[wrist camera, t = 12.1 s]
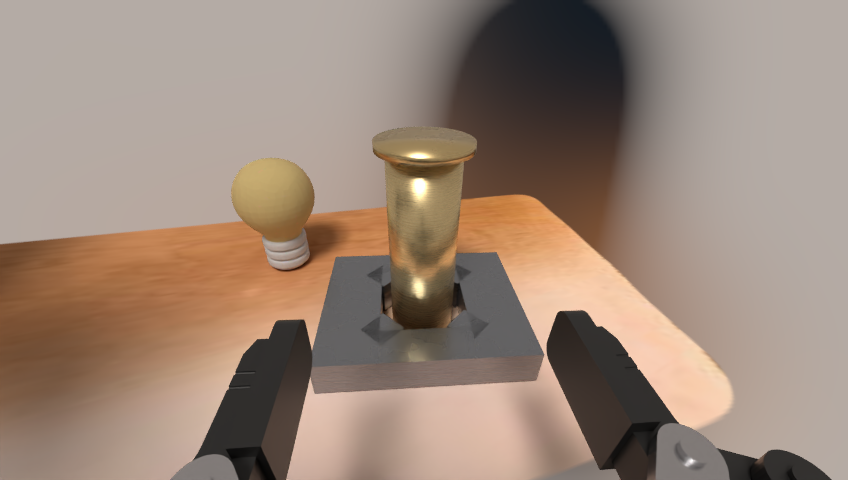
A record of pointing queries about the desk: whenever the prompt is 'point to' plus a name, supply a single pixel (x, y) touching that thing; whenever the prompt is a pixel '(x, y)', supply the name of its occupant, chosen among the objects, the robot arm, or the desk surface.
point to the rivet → (423, 219)
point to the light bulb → (276, 208)
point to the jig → (421, 331)
